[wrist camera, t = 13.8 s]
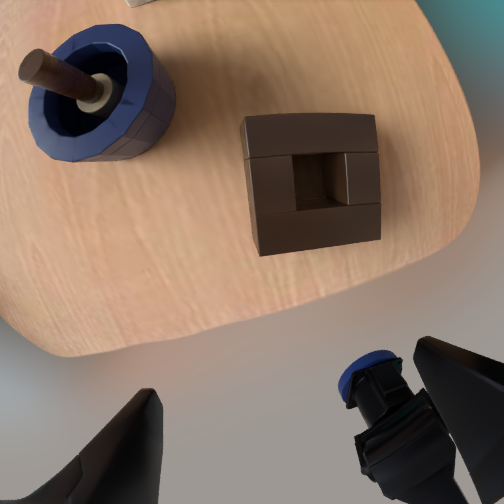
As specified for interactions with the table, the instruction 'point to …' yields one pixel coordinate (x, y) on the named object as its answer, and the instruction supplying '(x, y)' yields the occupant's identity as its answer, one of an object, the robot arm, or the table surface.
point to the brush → (72, 83)
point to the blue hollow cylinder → (125, 114)
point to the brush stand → (335, 174)
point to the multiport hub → (136, 2)
